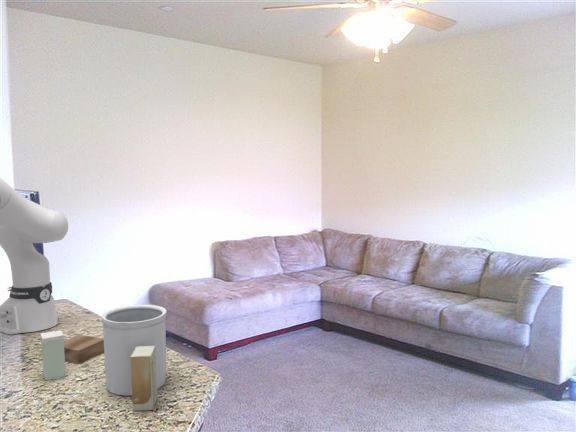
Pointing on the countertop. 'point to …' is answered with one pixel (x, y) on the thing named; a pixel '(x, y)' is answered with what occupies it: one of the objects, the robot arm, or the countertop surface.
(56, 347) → the canister
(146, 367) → the skincare box
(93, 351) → the walnut block
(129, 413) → the countertop surface
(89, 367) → the countertop surface
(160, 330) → the utensil holder
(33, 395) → the countertop surface
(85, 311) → the countertop surface
